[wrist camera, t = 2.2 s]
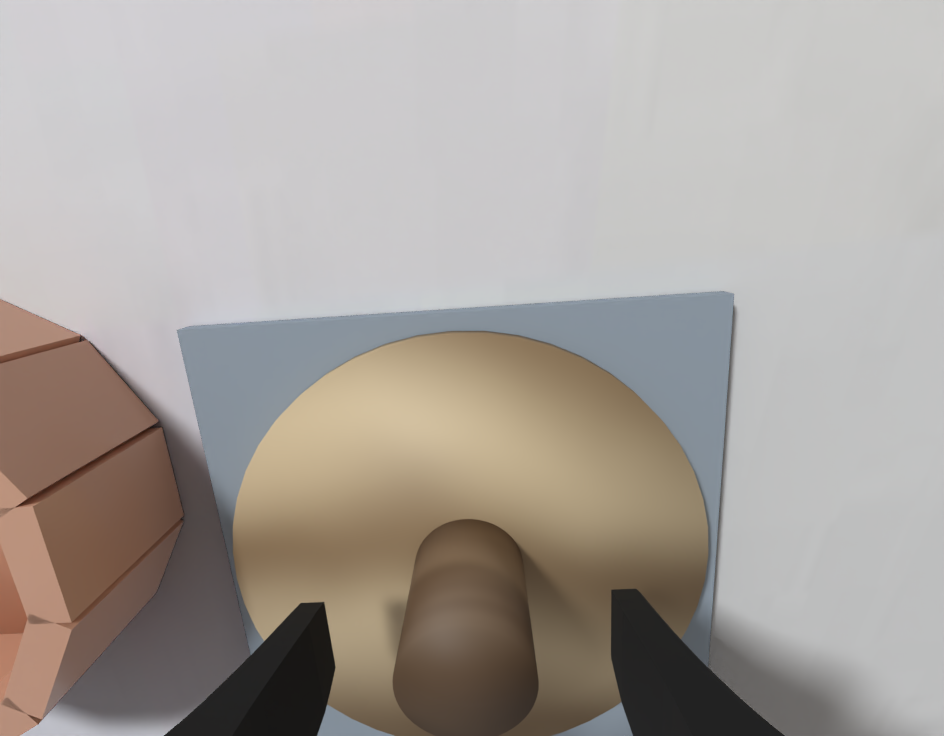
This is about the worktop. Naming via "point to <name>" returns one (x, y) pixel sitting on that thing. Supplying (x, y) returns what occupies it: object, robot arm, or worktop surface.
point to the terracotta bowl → (72, 512)
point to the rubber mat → (559, 323)
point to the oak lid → (469, 531)
